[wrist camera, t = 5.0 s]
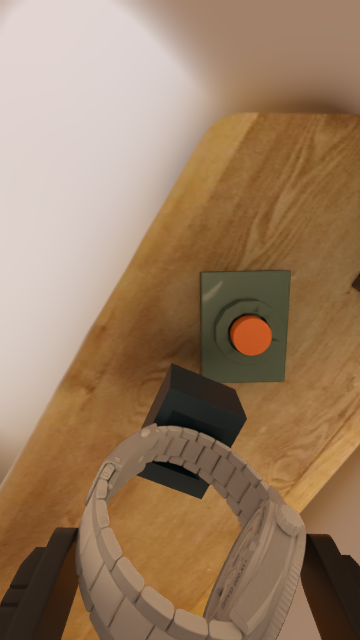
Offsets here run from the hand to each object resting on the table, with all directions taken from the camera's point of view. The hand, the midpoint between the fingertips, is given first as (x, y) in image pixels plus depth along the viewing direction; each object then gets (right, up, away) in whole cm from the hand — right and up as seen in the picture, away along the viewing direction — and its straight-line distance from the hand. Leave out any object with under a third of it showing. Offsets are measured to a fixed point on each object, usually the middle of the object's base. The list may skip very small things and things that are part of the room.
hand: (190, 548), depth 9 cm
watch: (0, +2, +8) cm, 8 cm away
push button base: (+6, +7, +21) cm, 23 cm away
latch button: (+6, +7, +18) cm, 20 cm away
